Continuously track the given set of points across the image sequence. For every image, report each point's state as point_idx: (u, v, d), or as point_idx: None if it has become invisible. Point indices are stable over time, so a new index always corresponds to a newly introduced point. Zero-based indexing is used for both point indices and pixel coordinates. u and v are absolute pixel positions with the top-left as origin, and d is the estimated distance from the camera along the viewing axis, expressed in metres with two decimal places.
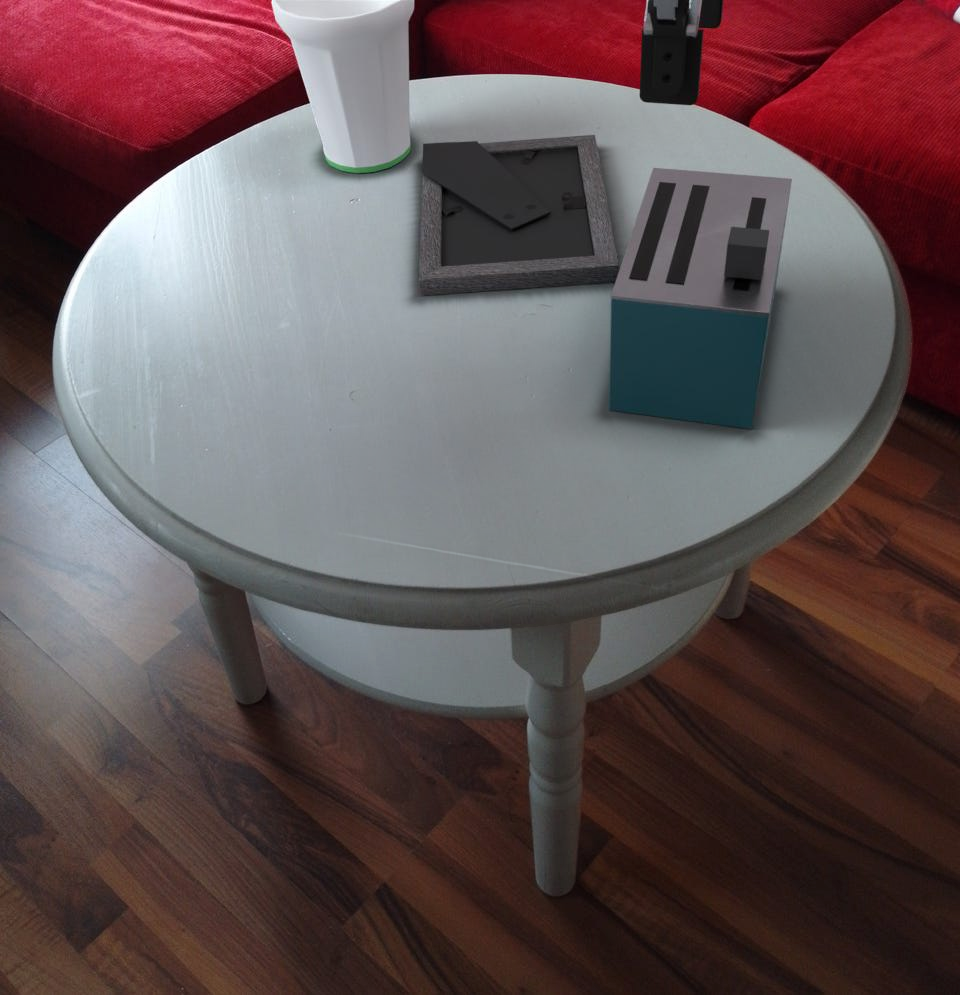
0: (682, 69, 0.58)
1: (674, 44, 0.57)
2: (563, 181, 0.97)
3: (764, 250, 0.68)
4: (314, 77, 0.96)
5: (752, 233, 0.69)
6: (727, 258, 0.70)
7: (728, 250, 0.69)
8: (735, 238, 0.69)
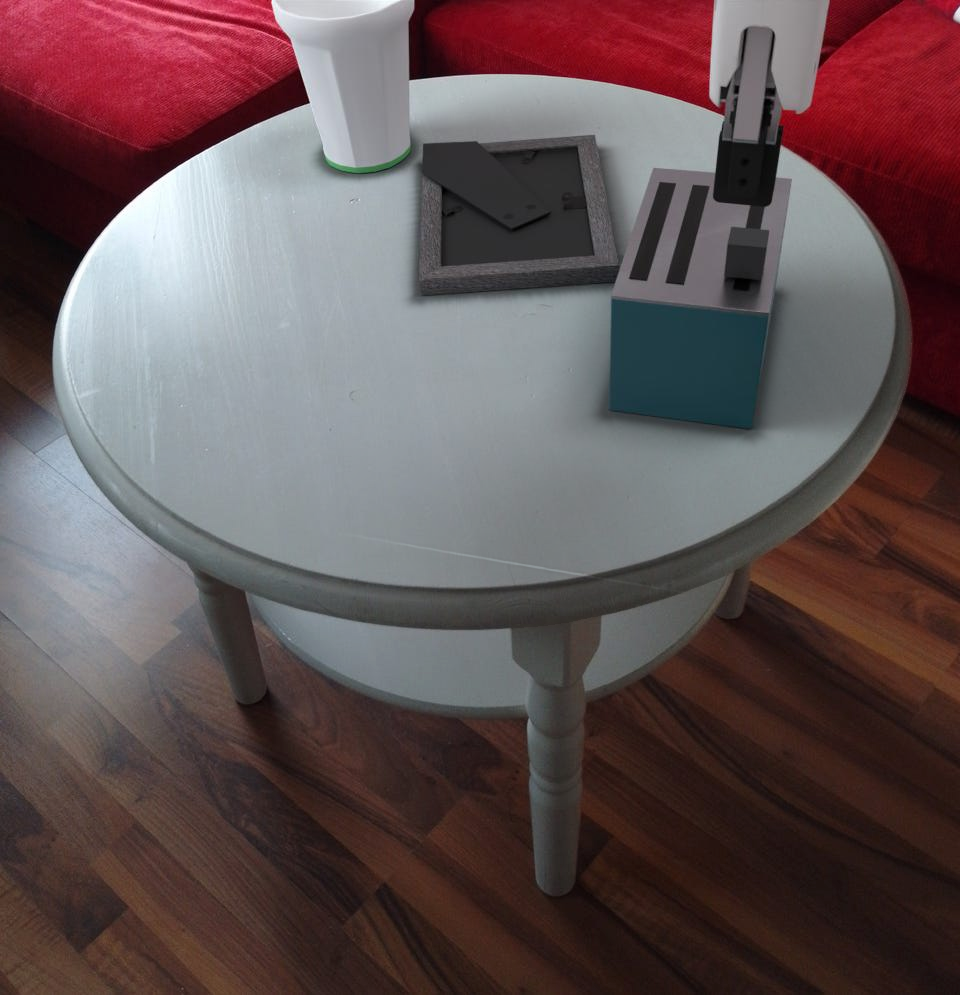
0: (759, 174, 0.58)
1: (753, 151, 0.57)
2: (563, 181, 0.97)
3: (764, 250, 0.68)
4: (314, 77, 0.96)
5: (752, 233, 0.69)
6: (727, 258, 0.70)
7: (728, 250, 0.69)
8: (735, 238, 0.69)
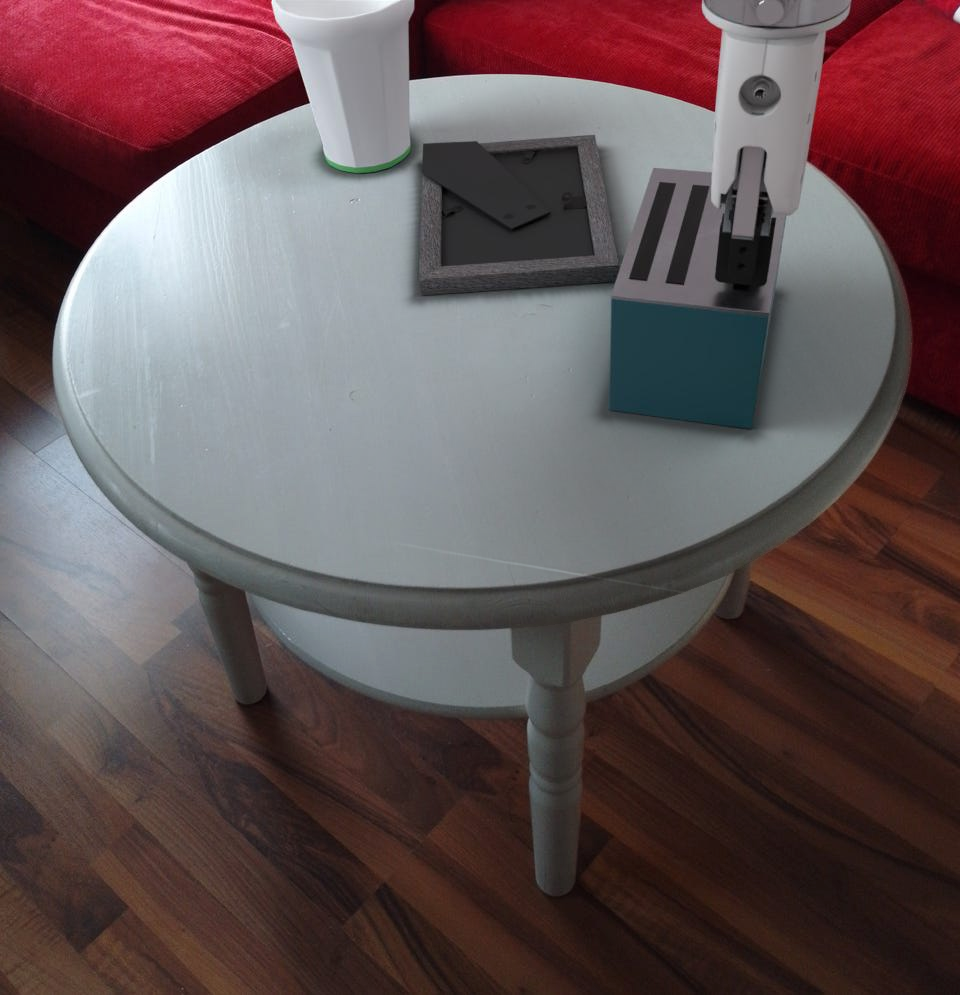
0: (755, 260, 0.66)
1: (749, 241, 0.66)
2: (563, 181, 0.97)
3: None
4: (314, 77, 0.96)
5: None
6: None
7: None
8: None
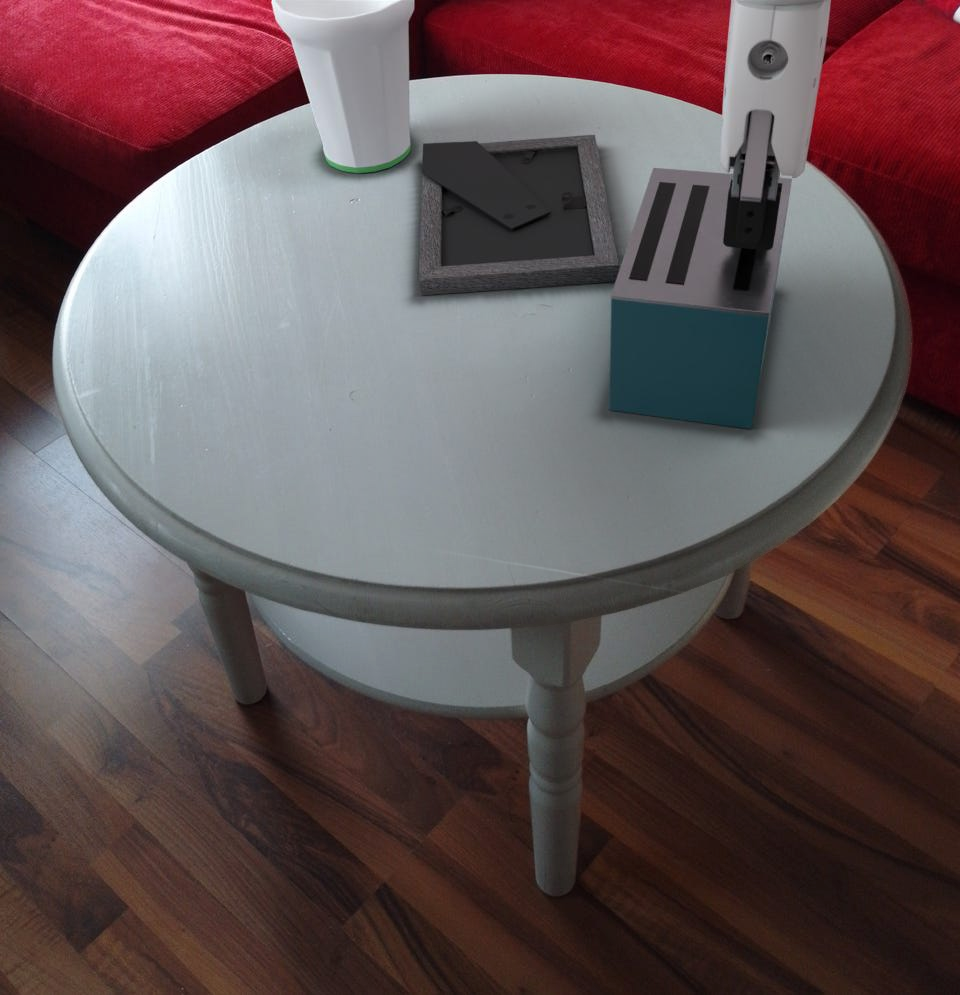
0: (762, 224, 0.69)
1: (756, 205, 0.68)
2: (563, 181, 0.97)
3: None
4: (314, 77, 0.96)
5: None
6: None
7: None
8: None
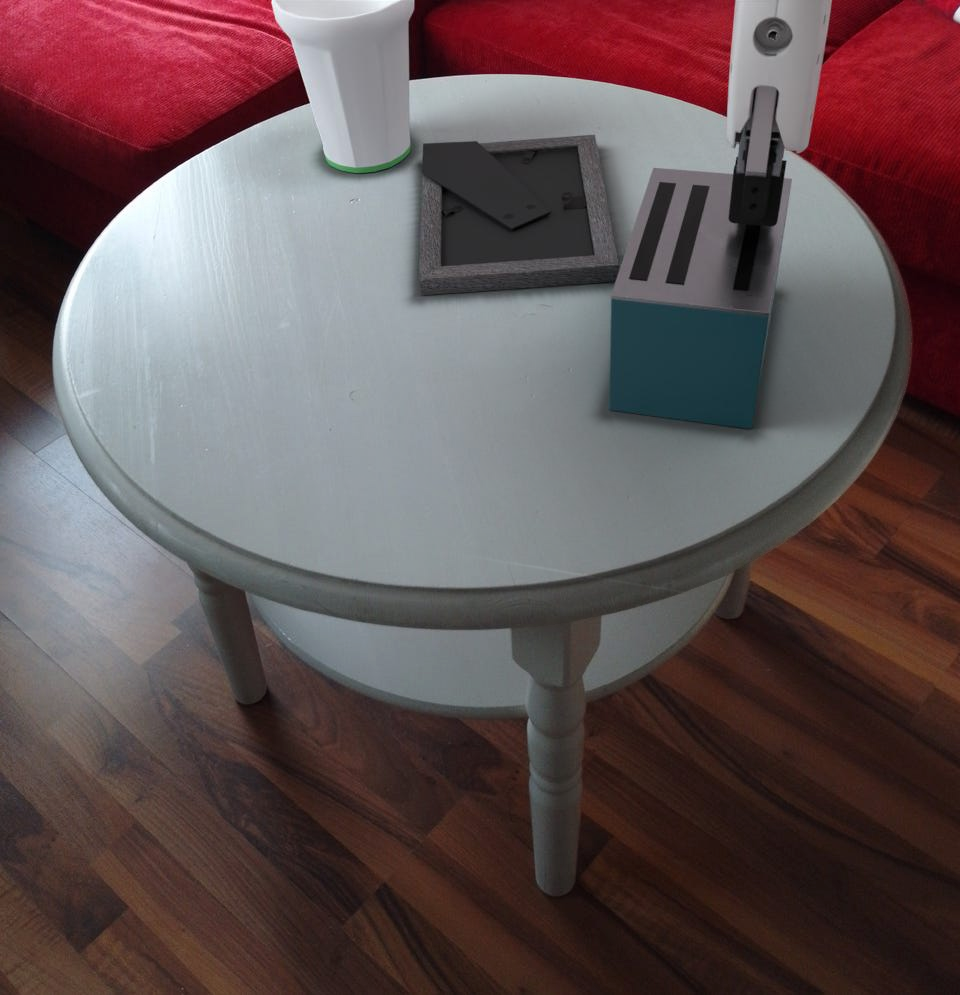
0: (767, 200, 0.71)
1: (761, 181, 0.70)
2: (563, 181, 0.97)
3: None
4: (314, 77, 0.96)
5: None
6: None
7: None
8: None
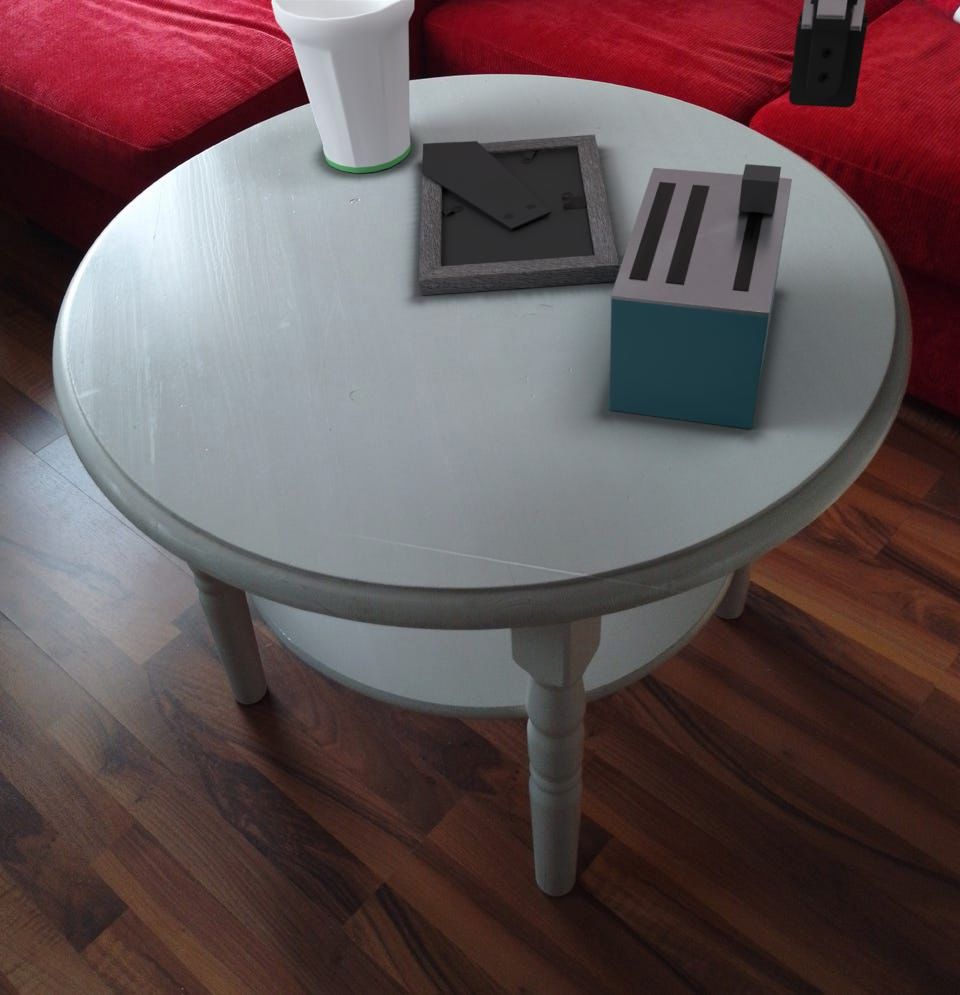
0: (842, 67, 0.53)
1: (835, 40, 0.52)
2: (563, 181, 0.97)
3: (776, 184, 0.73)
4: (314, 77, 0.96)
5: (765, 169, 0.74)
6: (742, 193, 0.75)
7: (743, 185, 0.74)
8: (749, 174, 0.74)
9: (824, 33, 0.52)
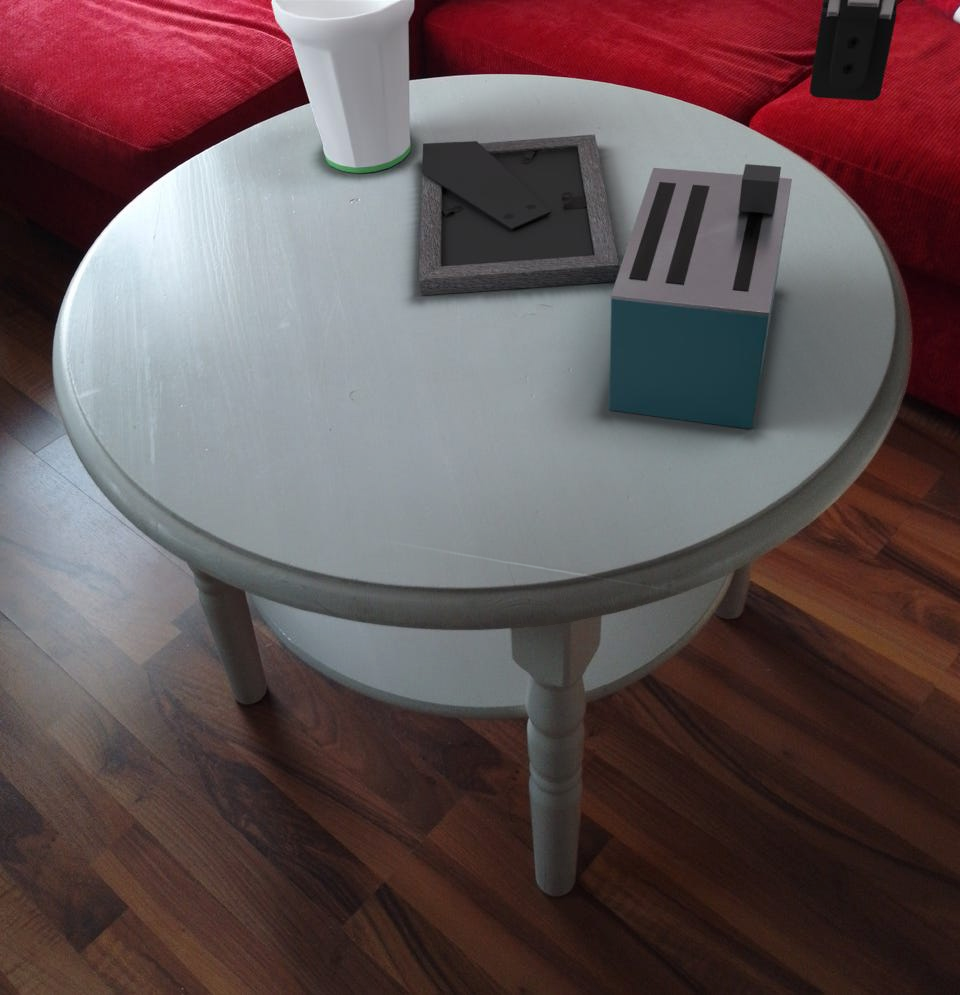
0: (869, 57, 0.49)
1: (863, 28, 0.48)
2: (563, 181, 0.97)
3: (776, 184, 0.73)
4: (314, 77, 0.96)
5: (765, 169, 0.74)
6: (742, 193, 0.75)
7: (743, 185, 0.74)
8: (749, 174, 0.74)
9: (851, 21, 0.48)
